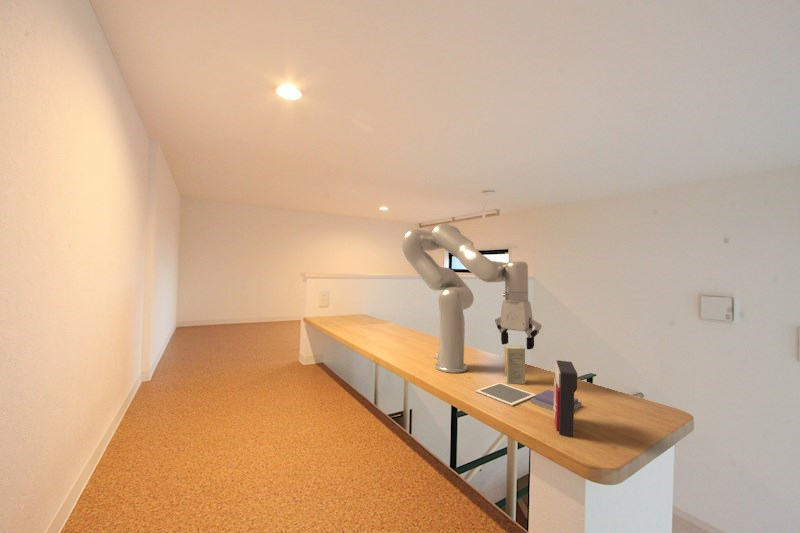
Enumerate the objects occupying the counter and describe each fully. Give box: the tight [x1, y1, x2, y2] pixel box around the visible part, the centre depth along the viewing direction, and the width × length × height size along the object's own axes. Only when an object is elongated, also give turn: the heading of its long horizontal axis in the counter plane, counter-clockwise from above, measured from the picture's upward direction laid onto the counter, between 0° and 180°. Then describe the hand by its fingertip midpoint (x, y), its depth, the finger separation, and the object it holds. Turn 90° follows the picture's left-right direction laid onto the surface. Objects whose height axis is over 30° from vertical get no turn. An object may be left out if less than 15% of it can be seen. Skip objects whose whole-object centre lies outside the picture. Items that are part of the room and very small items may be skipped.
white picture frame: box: [475, 382, 537, 407], centre depth 101 cm, size 13×13×1 cm
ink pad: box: [529, 389, 582, 412], centre depth 94 cm, size 10×10×2 cm
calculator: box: [553, 360, 578, 438], centre depth 81 cm, size 11×4×15 cm, turn 159°
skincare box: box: [503, 344, 526, 385], centre depth 113 cm, size 6×4×12 cm
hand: (517, 346), depth 112 cm, fingers open, 9 cm apart
